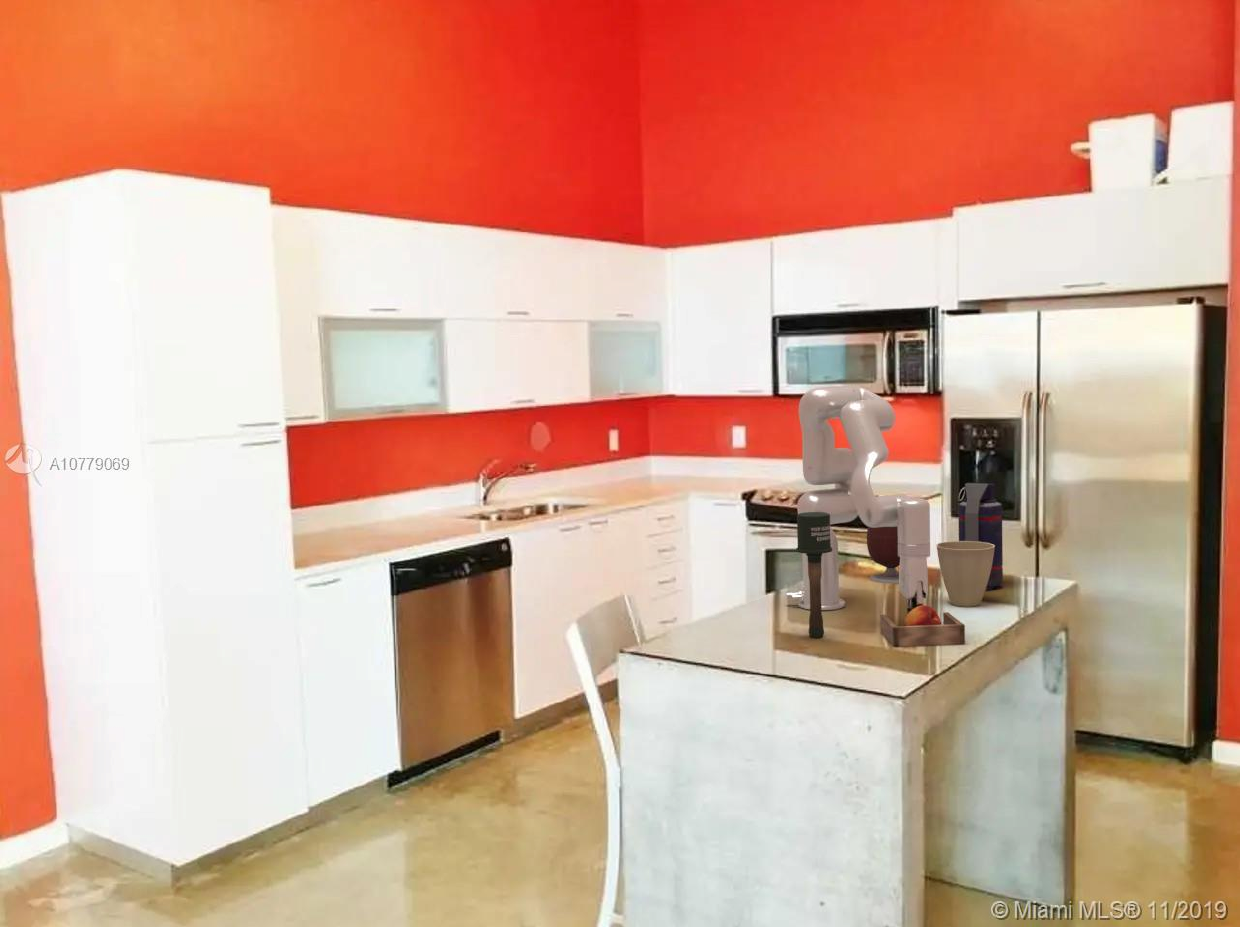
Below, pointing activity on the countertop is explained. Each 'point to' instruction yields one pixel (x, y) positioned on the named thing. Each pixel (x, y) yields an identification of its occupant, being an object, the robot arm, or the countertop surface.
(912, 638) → the box
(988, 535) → the smoke canister
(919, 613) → the fruit
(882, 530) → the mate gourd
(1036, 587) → the countertop surface
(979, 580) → the plant pot
